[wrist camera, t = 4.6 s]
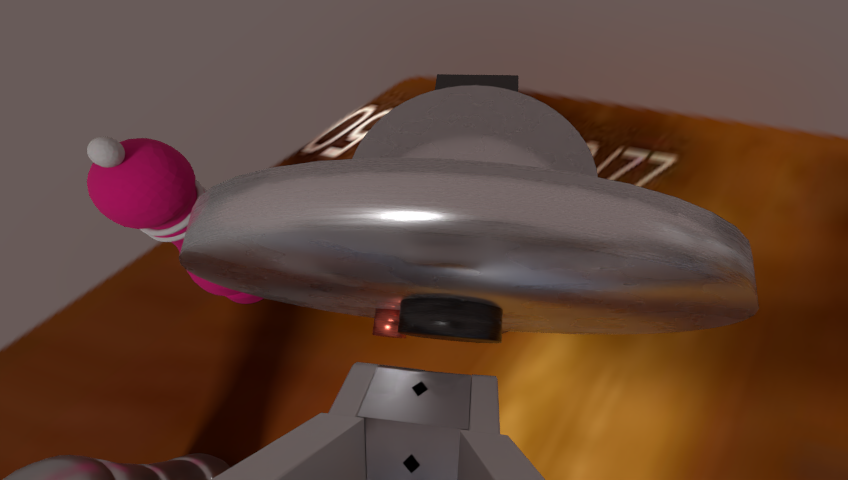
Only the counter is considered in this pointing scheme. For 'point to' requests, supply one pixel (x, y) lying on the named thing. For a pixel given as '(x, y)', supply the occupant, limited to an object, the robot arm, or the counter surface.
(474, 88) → the cooker pot
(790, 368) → the counter surface
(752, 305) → the cooker lid
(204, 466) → the silver metal bottle
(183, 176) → the pepper mill
